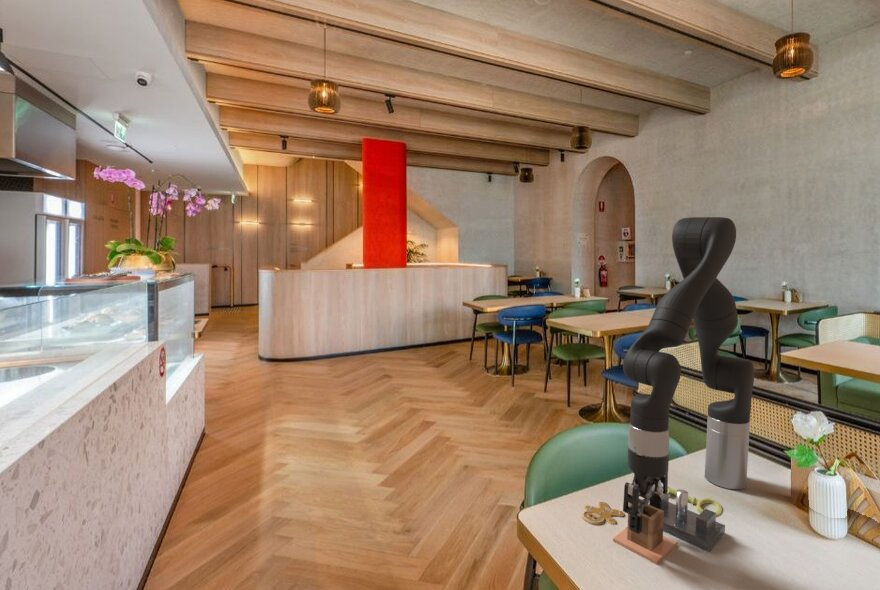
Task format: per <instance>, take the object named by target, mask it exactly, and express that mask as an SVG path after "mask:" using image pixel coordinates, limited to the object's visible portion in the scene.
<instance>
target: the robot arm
mask: <svg viewBox="0 0 880 590" xmlns="http://www.w3.org/2000/svg"><path fill="white" fill-rule="evenodd" d="M671 239H672V241H671V243H672V248H673V253H674V256H675V258H676V261H677V262H676V263H677V265H678V268H679V270H680V272H681V275H682V276H681V277H682V280H681V281H680V282H678V283H677V284H676V285H674V286H673V287H671V288H670V289H669V290H668V291H667V292H666V293H665V294H663V296H662V297H661V298H660V300H659V302H657V306H656V307H655V310H654V311H653V314H652V317H651V319H650V321H649V322H648V326H647V327H646V328H645V330H643V332H642V333H641V334H640V335H639V336H638V337H637V339H636V340H635V341H634V342H633V344H631V346H630V347H629V349H628V350H627V351H626V353H625V355H624V358H623V361H622V362H623V363H622V368H623V369H622V371H623V373H624V375H625V376H626V378H627V379H629V381H632V382H635V383H638V384H642V385H645V386H646V385H647V386H650V387H652V389H651V392H650V393H643V394H642V393H641V394H636V395H634V396H633V397H632V398H631V401H630V417H629V429H628V436H627V437H628V438H627V462H626V463H627V467H628V468H629V469H630V470H631V472H632V473H633V474H634V475H633V480H632V482H631V483H629V482H627V481H626V482H625V483H624V486H623V487H624V490H623V503H622V504H623V505H622V512H623V513H624V514H625V513H626V514H627V515H628V514H630V518H629V528H630V530H631V531H633V532H636V533H638V534H639V533H641V532H642V513H643V510H644V507H645V506H648V504H649V505H651V506H653V507H656V508H658V509H660V510H661V504H662V500H663V498H664V494H667V492H668V487H669V485H668V484H669V482H668V481H669V478H668V477H669V458H670V457H669V456H670V436H669V435H670V433H669V432H670V431H669V426H670V425H669V421H670V418H669V417H670V409H671V405H672V402H673V399H674V395H675V392H676V391H677V388H678V385H679V382H680V379H681V376H682V367H681V364H680V361H679V360H678V359H677V357H676V356H675V355H673V354H672V353H667V352H662V351H661V350H663V349H667V348H675V347H679V346H681V345H682V344H683V342H684V341H685V339H686V336H687V334H688V332H689V329H690V326H691V324H692V322H693V325H694V329H695V334H696V337H697V342H698V347H699V355H700V366H701V367H700V368H701V373H702V375H701V376H702V379H703V383H704V384H705V386H706V387H707V388H709V389H711V390H714V391H719V392H724V393H731V394H733V395H734V397H733V398H732V399H729V400H721V401H713V402H711V403H709V404H708V405H707V406H708V407H707V421H706V423H707V425H706V444H705V461H704V462H705V464H704V478H705V479H706V480H707V481H708V482H710V483H711V484H713V485H716V486H718V487H720V488H724V489H729V490H742V489H745V488H746V487H747V482H748V481H747V478H748V464H749V463H748V461H749V460H748V459H749V447H750V445H749V444H750V443H749V442H750V426H751V410H752V398H753V388H754V380H755V366H754V364H753V362H752V361H751V360H749V359H746V358H741V357H733V356H727V355H726V356H725V355H721V354H719V352H718V351H719V348H721V346H722V345H723V343H725V342H726V341H727V340H728V339H729V337H731V335H732V334H733V333H734V332H735V330H736V328H737V326H738V324H739V323H738V322H739V318H738V311H737V305H736V300H735V297H734V295H733V293H732V292H731V291H730V290H729V289H728V288H727V287H726V285H724V284H723V282H721V281H720V280H719V278H717V277H718V275H719V274H720V273H721V271H722V269H723V268H724V266H725V265H726V263H727V261H728V260H729V257H730V256H731V255H732V252H733V250H734V247H735V243H736V241H737V228H736V225H735V223H734V221H733V220H732V219H731V218H729V217H724V216H723V217H722V216H712V217H711V216H697V217H696V216H695V217H694V216H693V217H690V216H689V217H684V218H680V219H678V220H677V221H676V223H675V224H674V226H673V228H672V234H671ZM640 497H641V498H640ZM642 498H643V499H642ZM639 503H640V506H639V509H638V505H639Z"/></svg>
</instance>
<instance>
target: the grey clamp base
mask: <svg viewBox="0 0 880 590" xmlns="http://www.w3.org/2000/svg"><path fill="white" fill-rule="evenodd" d="M676 491H677V496H676V498H675V499H676V501H675V503H673V502H669V501H670V493H669V494H668V493H667V494H664V498H663V500H662V504H661V510H663V511H664V520H663V533H667V534H668V533H669V534H668V535H671V536H673V537H675V538H677V539H679V540H681V541H683V542H685V543H688V544H690V545H692V546H693V547H697V548H699V549H701V550H702V551H705V552H707V553H709V552H710V551H711V550H712V549H713V548H714V547H715V546H716V544H718V543H719V541H720V540H721V539H722V538H723V537H724V536H725V533H726V524H723V523H720V522H718V521H716V519H717V516H716V513H715V512H716V511H713V510H710V509H707V508H705V509H703V510H704V511H703V512H702V513H699V514H698V513H696V512H694V511H692V510H688V507H689V506H688V505H689V502H688V496H689V492H688V491H687V490H684V489H680V488H679V489H676Z"/></svg>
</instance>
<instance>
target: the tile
mask: <svg viewBox="0 0 880 590" xmlns="http://www.w3.org/2000/svg"><path fill="white" fill-rule="evenodd" d="M627 529H628V526H626V527H625V528H624V529H623V530H622V531H620V532H619V533H618V534H616V535H615V536H613V538H612V541H613V542H614V543H616V544H617V545H619V546H622V547H624V548H625V549H627V550H629V551H631V552H633V553H635V554H636V555H639V556H641V557H642V558H645V559H646V560H648V561H650V562H651V563H653V564H655V565H657V564H658V563H660V562H661V561H662V560H663V559H664V558H665V557H666V556H667V555H668V554H669V553H670V552H671V551H673V549H674V548H675V547H676V546H677V545H678V541H676V540H674V539H672V538H669V537H667V536H665V535H663V541H662V542H661V543H660V544H659V545H658V546H657V547H656V548H655V549H654V550H653V551H649V550H648V549H646V548H644V547H642V546H640V545H638V544H636V543H634V542H632V541H630V540H628V539H627Z"/></svg>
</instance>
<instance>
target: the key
mask: <svg viewBox="0 0 880 590" xmlns="http://www.w3.org/2000/svg"><path fill="white" fill-rule="evenodd" d="M667 493H668V494H669V495H670V494H672V495H674V496H676V497H677V489H674V488H672V487H670V486H668V492H667ZM690 502H691V505H692V504H693V505H695V506H696V511H697V512H698V513H699V514H700V513H702V512H703V511H704V510H705V509H703V508H702V507H701V506H702V505H704V504H711V505H714V506H715V507H716V511H714V512H715V513H716V517H719V516H720V515H722V513H723V508H722V506H721V504H720V503H719V502H718V501H716V500H714V499H712V498H703V497H702V498H701V499H699V500H698V499H697V497H691V496H689V495H688V503H690Z"/></svg>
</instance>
